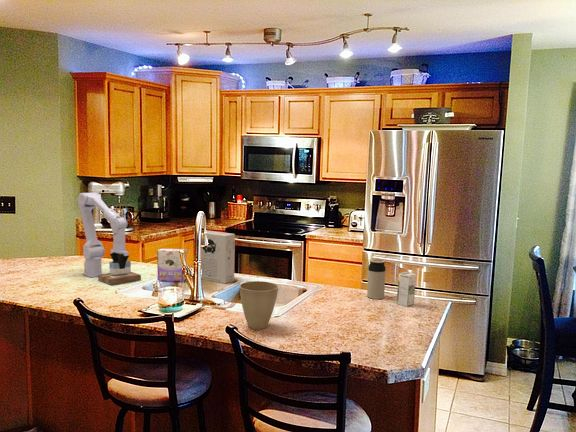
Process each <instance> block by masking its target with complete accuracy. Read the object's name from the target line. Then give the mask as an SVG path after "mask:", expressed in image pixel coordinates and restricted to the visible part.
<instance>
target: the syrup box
mask: <svg viewBox="0 0 576 432" xmlns="http://www.w3.org/2000/svg"><path fill="white" fill-rule="evenodd" d="M416 278H417V274H416V273H414V272H410V271H403V272H400V273H398V278H397V280H398V281H397V290H396V291H397V294H396V295H397V296H396V304H397V305H400V306H402V307H403V306H404V307H410V306H413V305H414V304H415V295H416V282H417V280H416Z"/></svg>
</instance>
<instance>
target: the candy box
mask: <svg viewBox="0 0 576 432" xmlns="http://www.w3.org/2000/svg"><path fill="white" fill-rule="evenodd" d="M180 251H184V253H185V260H186V261H187V249H186V248H183V249H181V248H160V249H157V252H156V253H157V254H156V255H157V257H156V258H157V265H156V266H157V280H159V281H158V282H168V283H169V282H171V283H172V282H173V283H175V282H176V283H184V282H185V281H186V280H185V278H184V276H183V273H182V264H181V259H180V254H179V252H180Z"/></svg>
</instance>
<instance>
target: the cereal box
mask: <svg viewBox="0 0 576 432" xmlns="http://www.w3.org/2000/svg"><path fill="white" fill-rule="evenodd" d="M235 236H236V234H235V233H229V232H222V231H214V230H208V229H207V238H208V243H209V244H208V246H205V247H202V249H201V269H202V279H201V280H206V281H210V282H214V283H219V284H220V283H221V284H229V283H231V282H234V281H235V255H236V254H235V251H236V249H235V248H236V247H235V242H236V237H235ZM193 239H195V231H194V233H193Z"/></svg>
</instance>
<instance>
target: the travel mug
mask: <svg viewBox="0 0 576 432" xmlns="http://www.w3.org/2000/svg"><path fill="white" fill-rule="evenodd" d="M368 261H369V265H368V269H367V293H366V296H367V298H369V299H372V300H381V299H384V298H385V287H386V285H385V284H386V268H387V267H386V266H385V263H386V260H385V259H382V258H370V259H368Z"/></svg>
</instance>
